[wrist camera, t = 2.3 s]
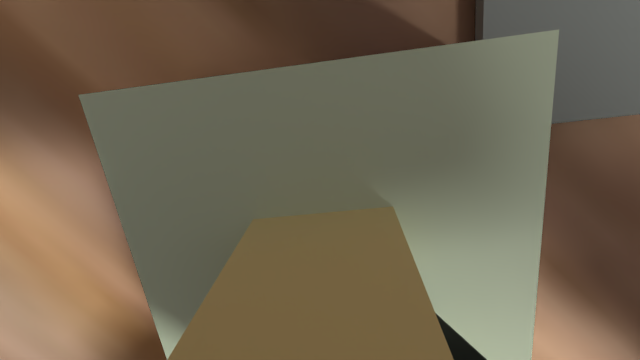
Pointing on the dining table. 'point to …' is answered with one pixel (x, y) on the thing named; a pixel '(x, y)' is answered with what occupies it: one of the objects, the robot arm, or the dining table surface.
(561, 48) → the coaster
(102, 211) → the dining table surface
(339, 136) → the lid
